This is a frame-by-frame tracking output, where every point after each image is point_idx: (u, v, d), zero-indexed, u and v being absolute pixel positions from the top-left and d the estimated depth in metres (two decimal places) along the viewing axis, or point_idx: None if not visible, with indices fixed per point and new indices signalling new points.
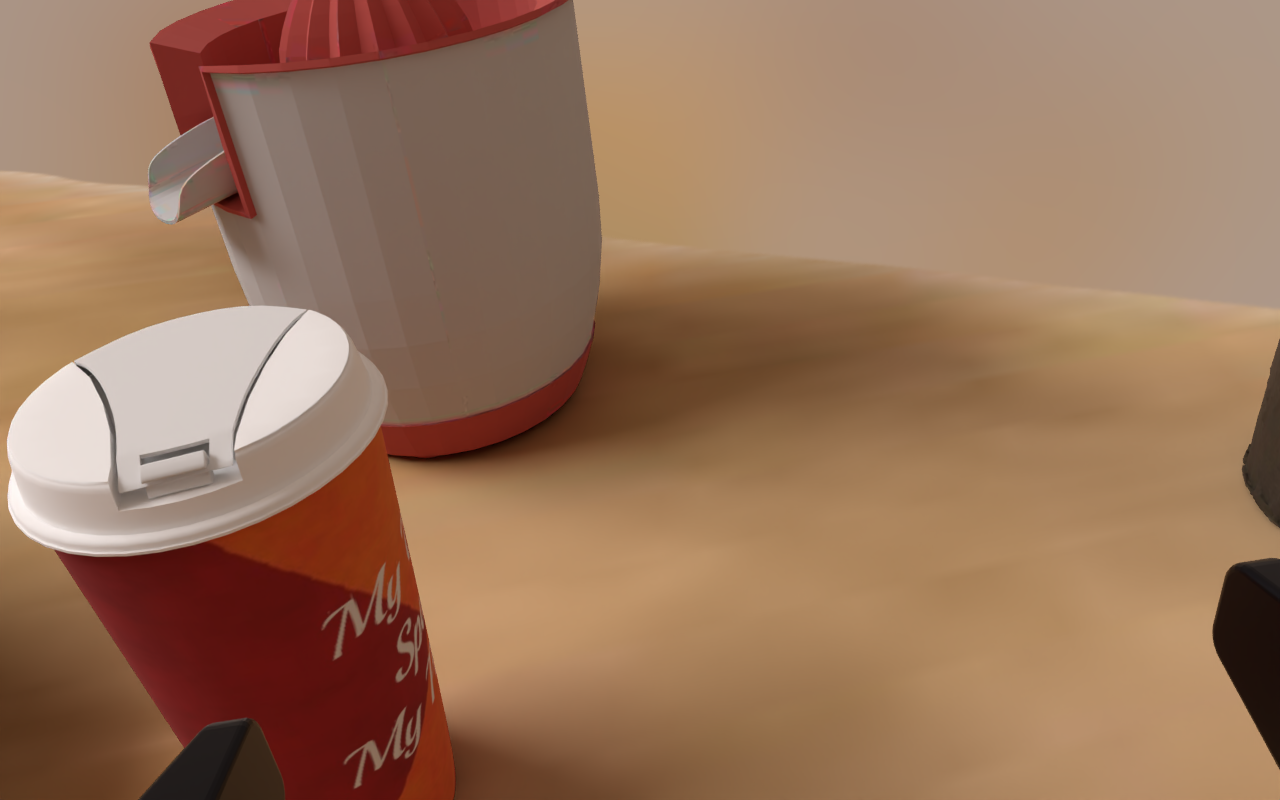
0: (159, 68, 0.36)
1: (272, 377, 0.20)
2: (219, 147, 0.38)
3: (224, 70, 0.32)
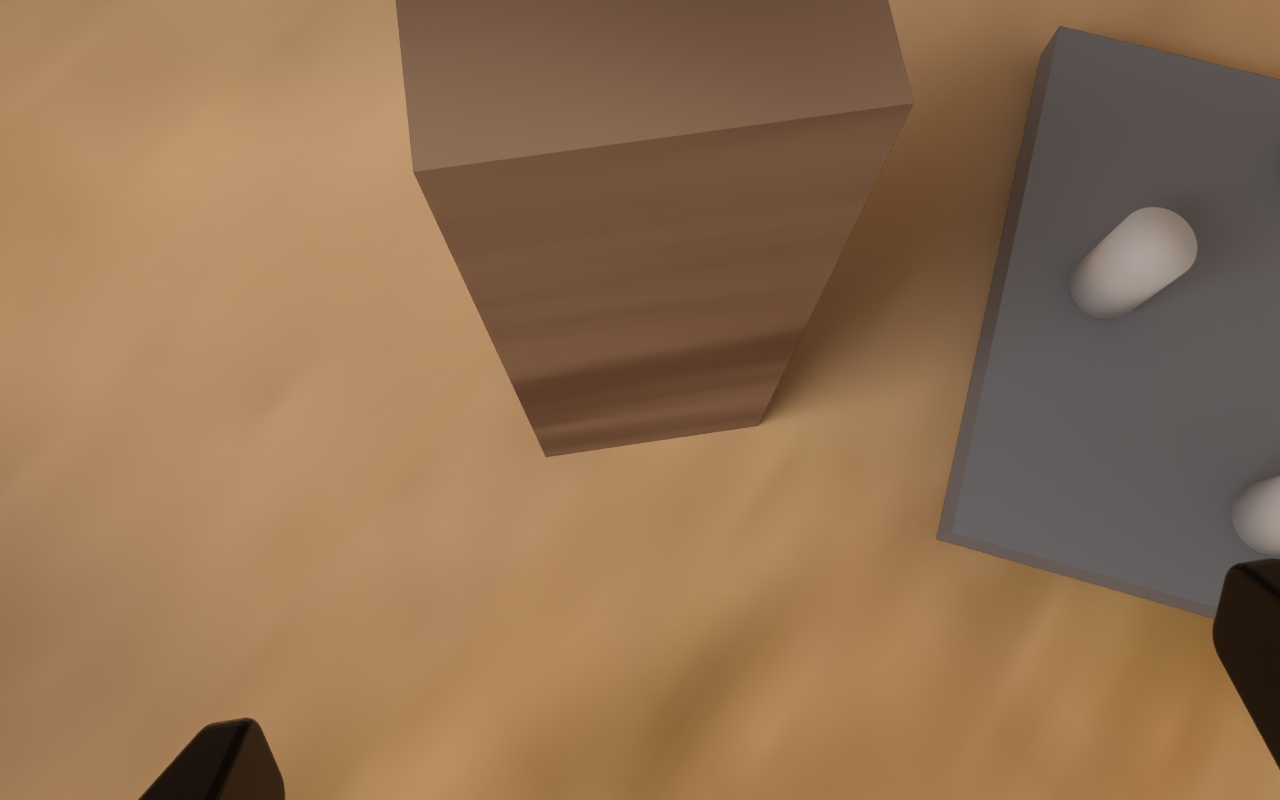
0: None
1: None
2: None
3: None
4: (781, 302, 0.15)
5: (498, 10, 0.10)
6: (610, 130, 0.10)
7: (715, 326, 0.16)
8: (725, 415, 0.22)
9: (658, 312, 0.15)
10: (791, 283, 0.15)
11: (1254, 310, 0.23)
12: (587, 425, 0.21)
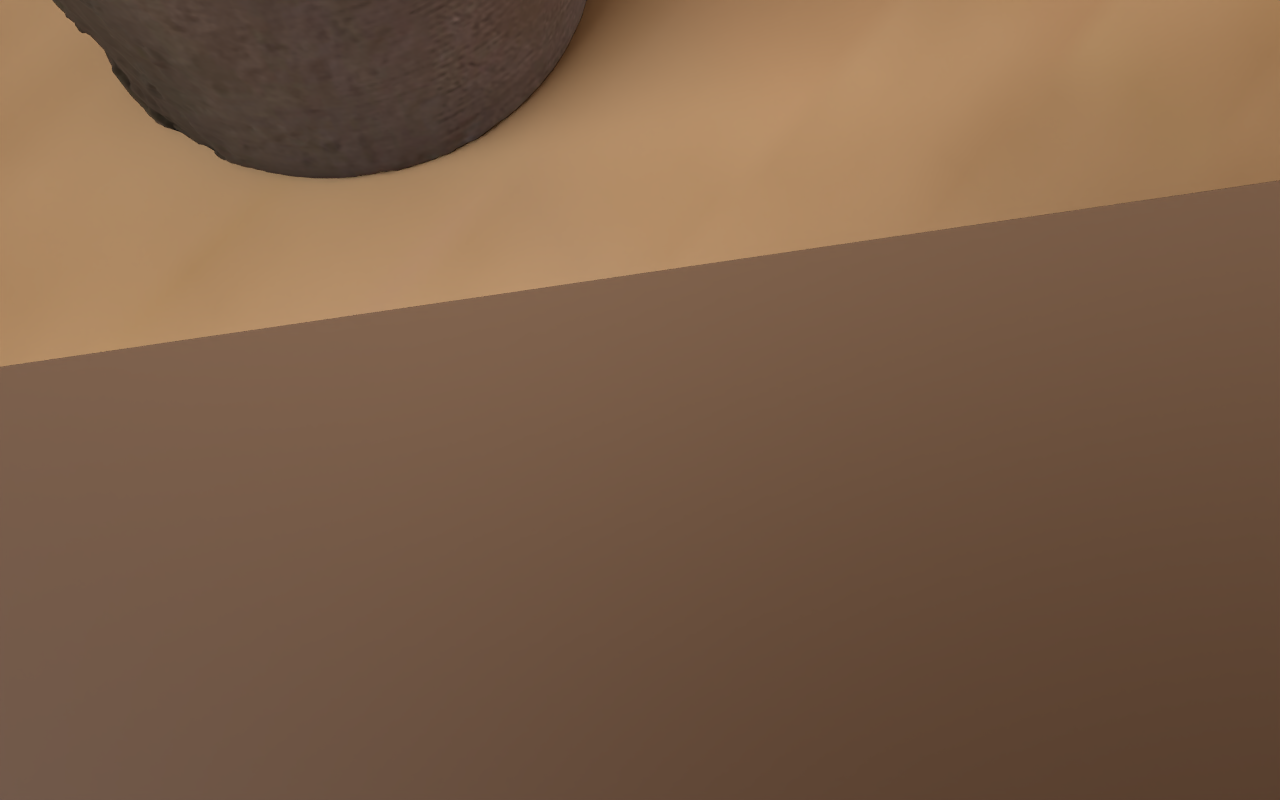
0: None
1: None
2: None
3: None
4: None
5: None
6: None
7: None
8: None
9: None
10: None
11: None
12: None
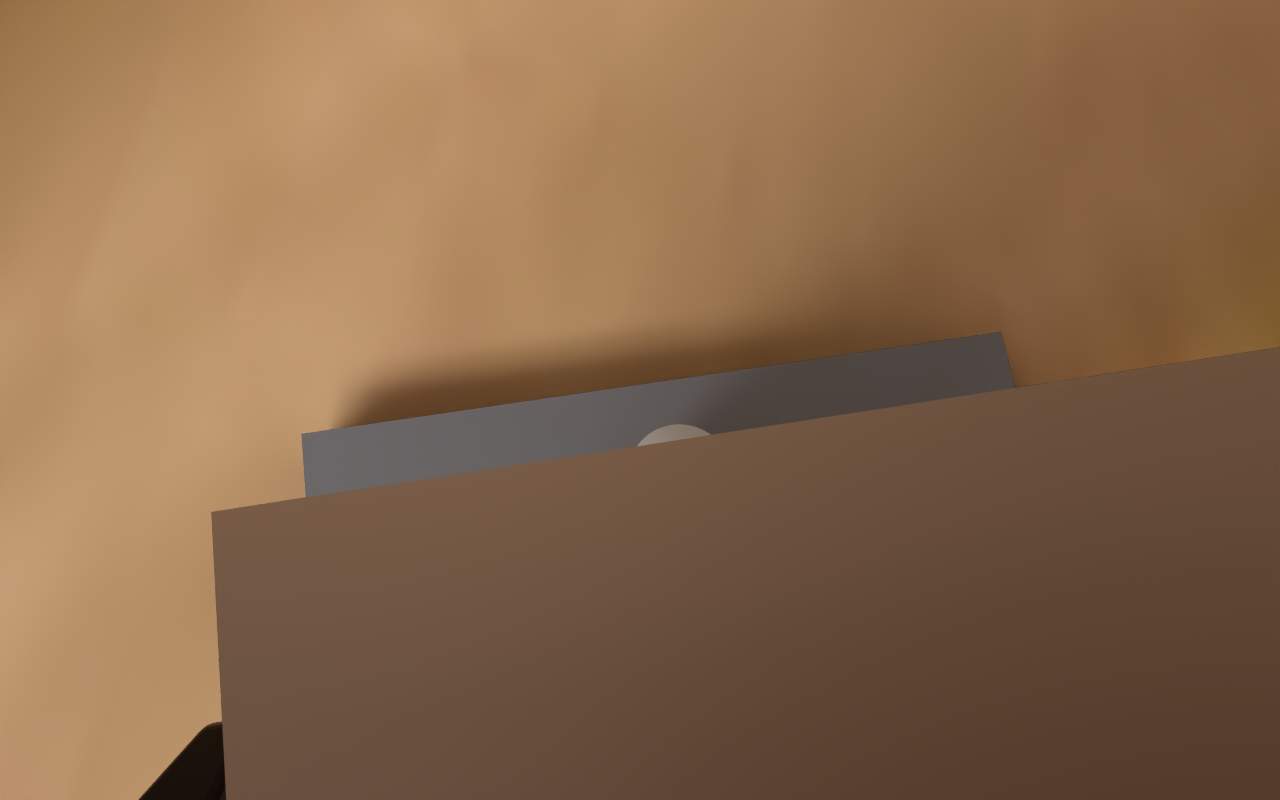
0: None
1: None
2: None
3: None
4: None
5: None
6: None
7: None
8: None
9: None
10: None
11: None
12: None
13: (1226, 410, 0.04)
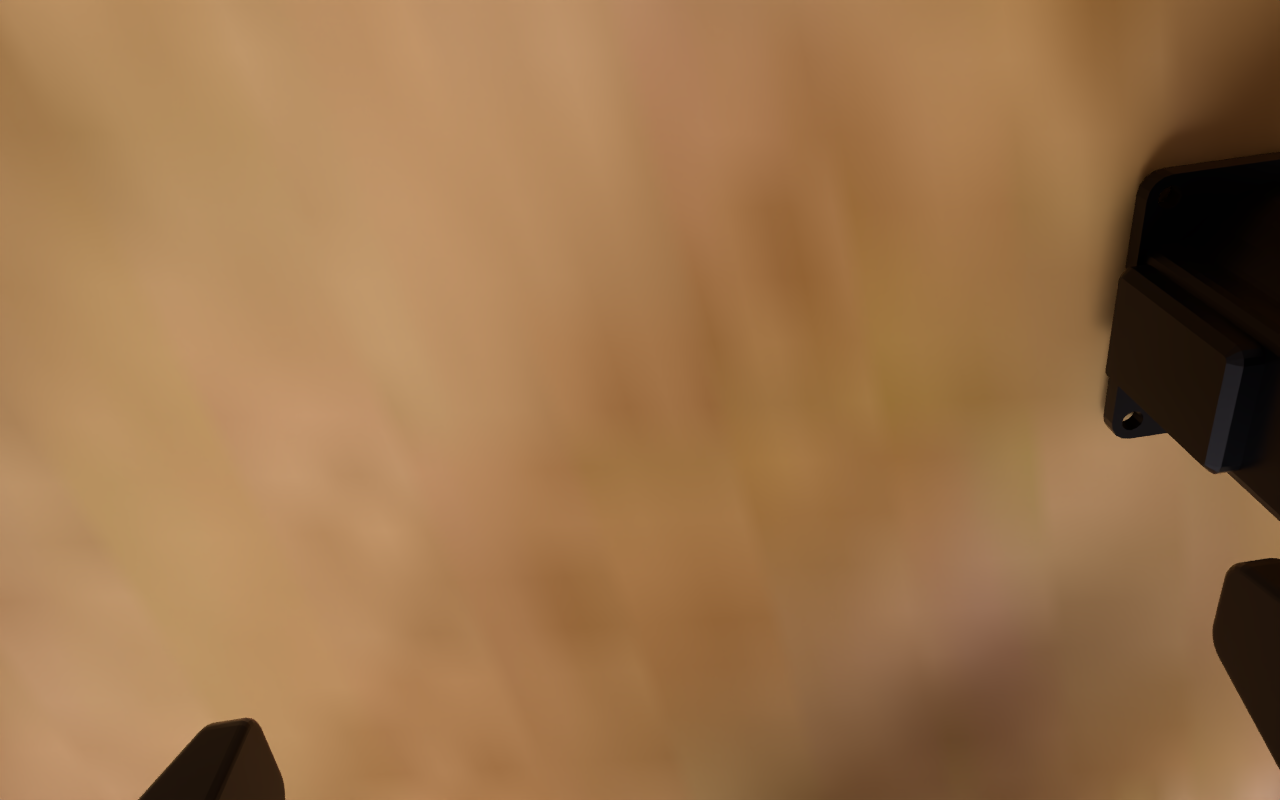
0: None
1: None
2: None
3: None
4: None
5: None
6: None
7: None
8: None
9: None
10: None
11: None
12: None
13: None
